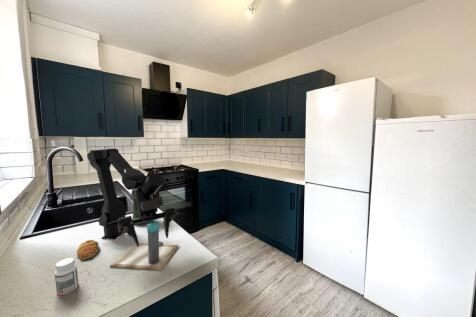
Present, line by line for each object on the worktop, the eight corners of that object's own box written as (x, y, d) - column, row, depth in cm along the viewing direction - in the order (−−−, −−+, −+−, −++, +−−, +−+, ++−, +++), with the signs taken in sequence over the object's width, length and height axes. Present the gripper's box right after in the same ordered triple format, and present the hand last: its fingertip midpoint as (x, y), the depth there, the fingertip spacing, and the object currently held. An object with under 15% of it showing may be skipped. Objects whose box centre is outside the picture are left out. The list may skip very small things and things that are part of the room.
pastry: (99, 256, 72) (98, 247, 71) (76, 264, 67) (75, 253, 67) (98, 245, 79) (97, 236, 79) (77, 251, 75) (76, 242, 74)
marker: (145, 263, 65) (145, 225, 64) (151, 257, 68) (151, 220, 67) (156, 264, 65) (155, 226, 63) (161, 258, 68) (160, 221, 67)
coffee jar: (140, 227, 95) (137, 190, 93) (130, 224, 99) (127, 188, 97) (156, 219, 103) (154, 186, 101) (146, 217, 107) (144, 184, 105)
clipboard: (110, 267, 65) (109, 262, 65) (136, 244, 79) (136, 240, 79) (160, 270, 63) (160, 265, 63) (178, 246, 77) (178, 242, 77)
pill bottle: (65, 283, 58) (62, 257, 57) (82, 282, 58) (79, 256, 58) (52, 296, 53) (48, 267, 52) (70, 294, 54) (67, 266, 53)
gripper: (115, 194, 62) (121, 241, 54) (174, 185, 73) (185, 224, 65) (115, 211, 69) (121, 254, 61) (168, 200, 80) (178, 237, 72)
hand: (153, 241), depth 65 cm, fingers open, 9 cm apart
